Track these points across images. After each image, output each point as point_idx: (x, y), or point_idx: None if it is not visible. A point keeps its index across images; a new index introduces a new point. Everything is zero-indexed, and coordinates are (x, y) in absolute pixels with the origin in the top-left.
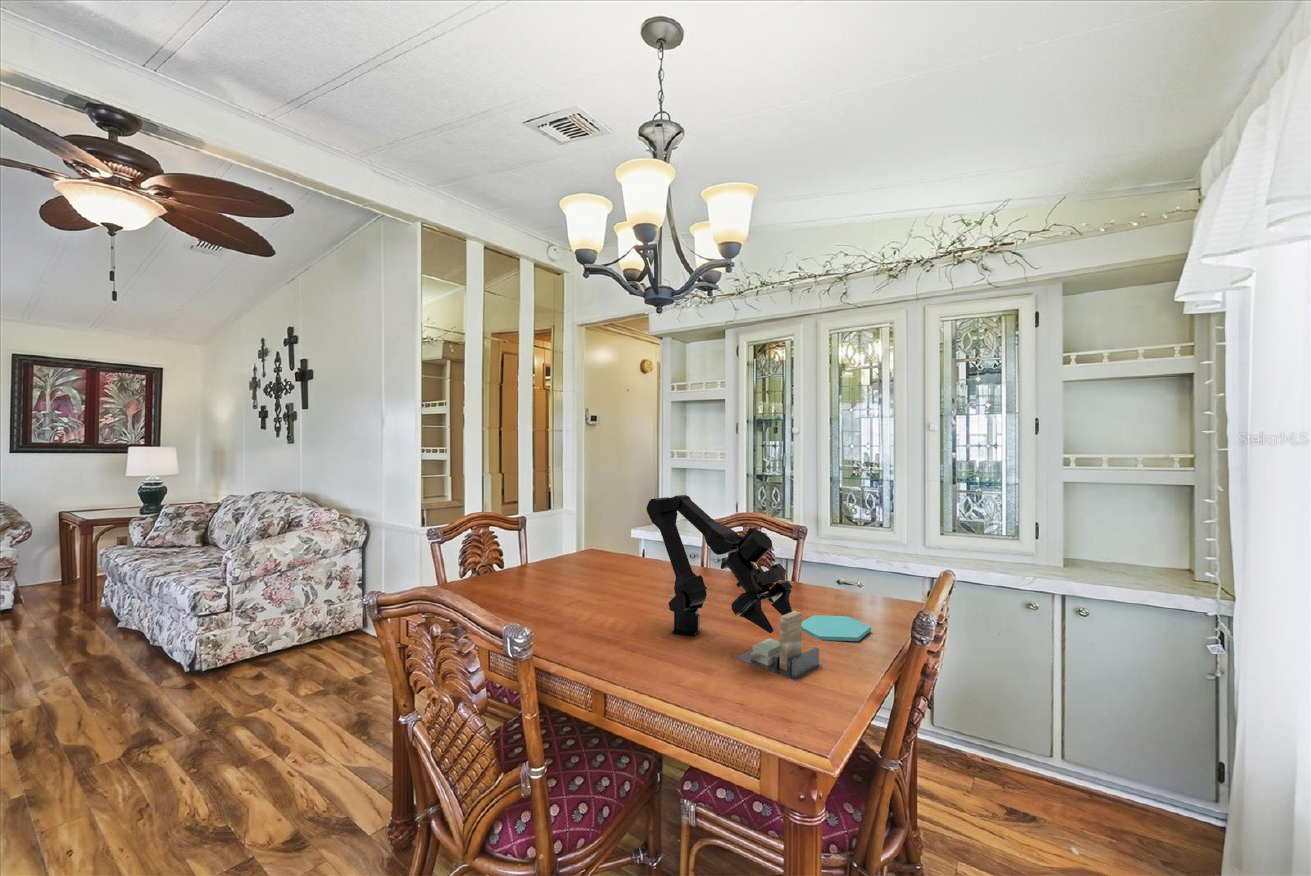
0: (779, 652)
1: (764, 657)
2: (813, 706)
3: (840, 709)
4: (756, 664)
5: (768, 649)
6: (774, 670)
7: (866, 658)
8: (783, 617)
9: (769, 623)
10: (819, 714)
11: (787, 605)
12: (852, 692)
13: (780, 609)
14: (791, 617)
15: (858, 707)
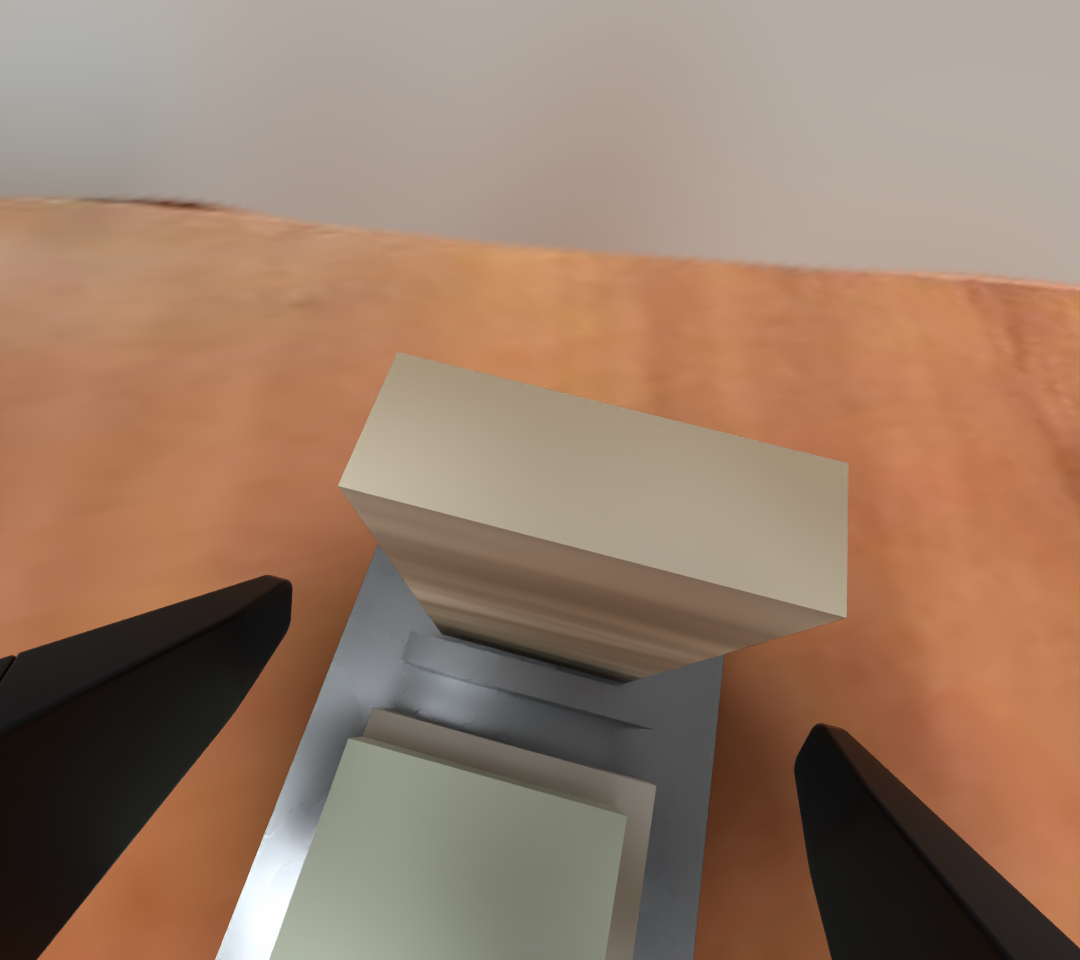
0: (455, 753)
1: (638, 836)
2: (867, 405)
3: (804, 313)
4: (679, 886)
5: (590, 828)
6: (687, 702)
7: (139, 300)
8: (842, 540)
9: (896, 810)
10: (911, 370)
11: (12, 721)
12: (614, 299)
13: (1, 934)
14: (717, 433)
15: (735, 264)
